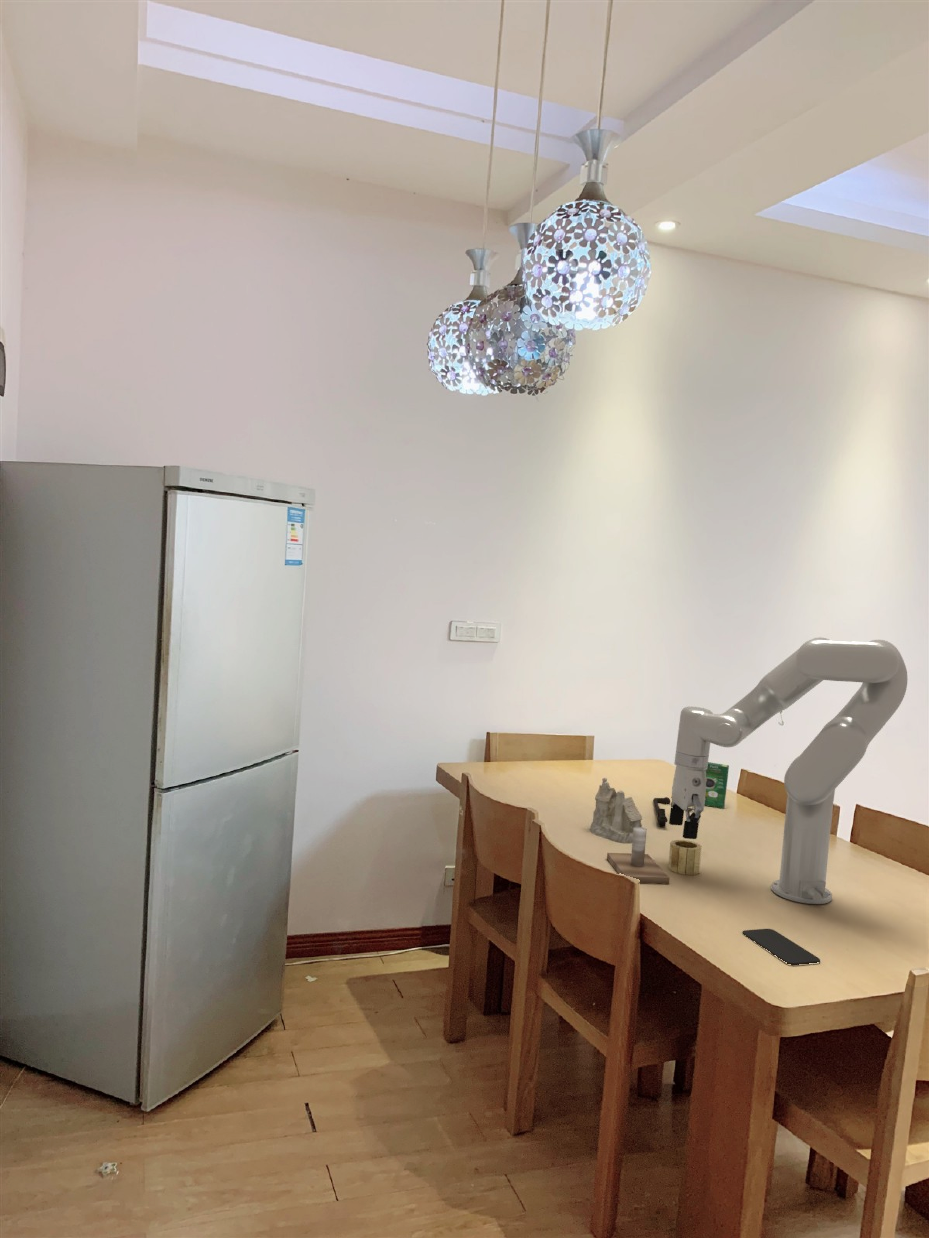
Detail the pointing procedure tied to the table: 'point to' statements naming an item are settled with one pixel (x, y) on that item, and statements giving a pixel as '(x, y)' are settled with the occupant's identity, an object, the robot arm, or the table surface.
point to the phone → (781, 946)
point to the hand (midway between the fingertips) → (682, 831)
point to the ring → (685, 857)
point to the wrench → (661, 810)
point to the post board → (638, 861)
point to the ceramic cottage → (614, 815)
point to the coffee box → (716, 785)
